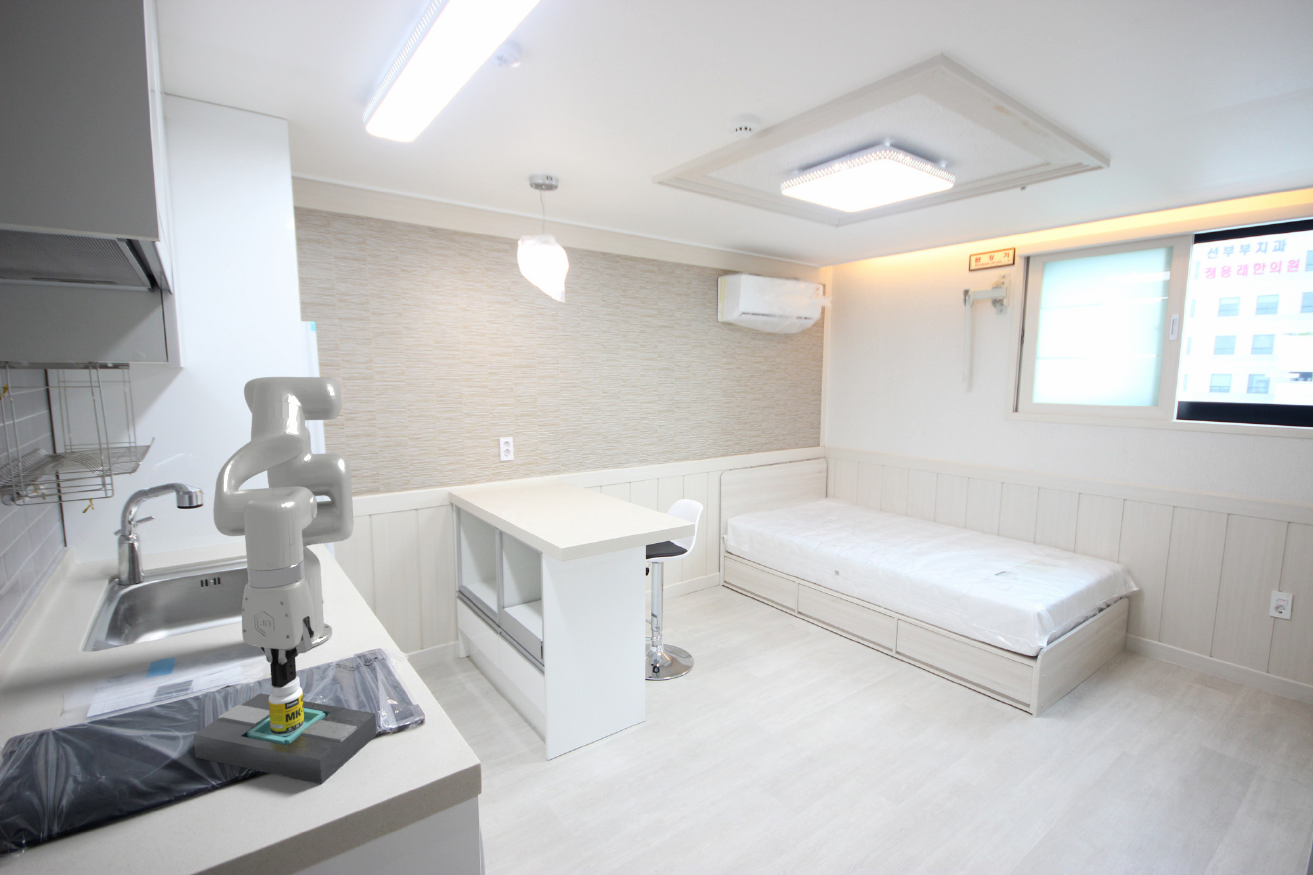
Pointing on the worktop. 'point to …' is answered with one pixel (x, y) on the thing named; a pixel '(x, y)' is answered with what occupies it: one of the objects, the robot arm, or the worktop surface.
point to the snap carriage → (265, 734)
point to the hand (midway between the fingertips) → (284, 682)
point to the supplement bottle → (286, 709)
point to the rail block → (300, 759)
